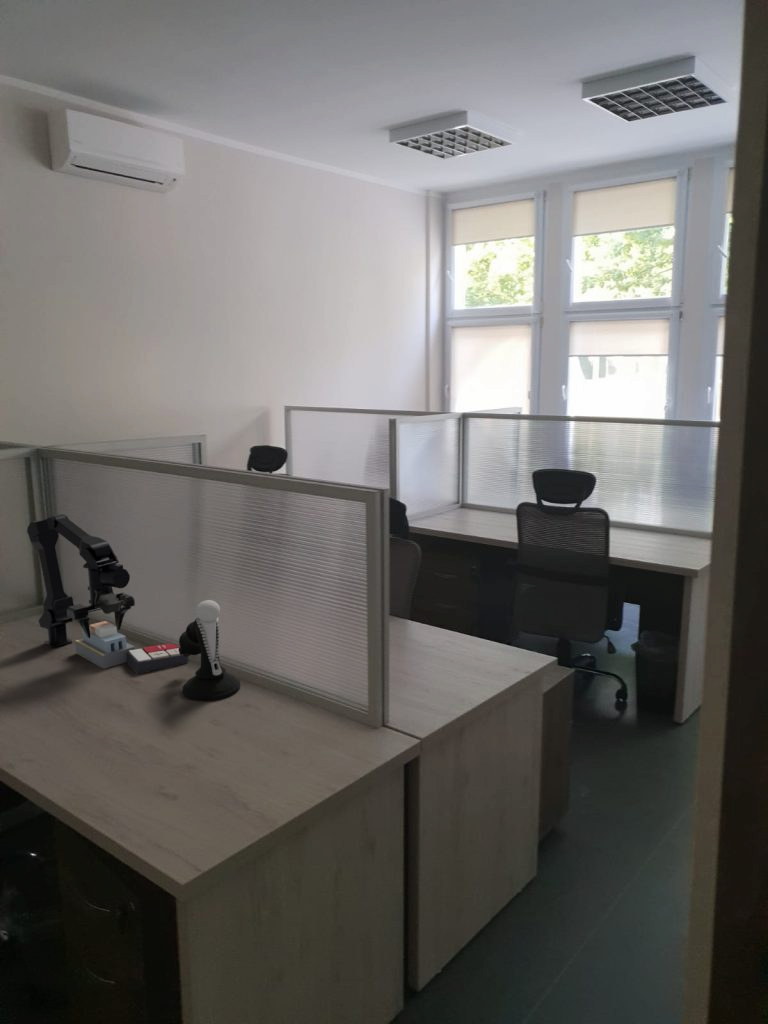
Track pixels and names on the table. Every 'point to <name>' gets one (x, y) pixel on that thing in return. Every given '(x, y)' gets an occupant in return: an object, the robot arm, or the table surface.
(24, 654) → the table surface
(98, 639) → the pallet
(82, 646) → the dock
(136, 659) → the grey red white box
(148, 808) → the table surface
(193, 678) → the sculpture
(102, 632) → the off-white block
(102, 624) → the salmon brown block
